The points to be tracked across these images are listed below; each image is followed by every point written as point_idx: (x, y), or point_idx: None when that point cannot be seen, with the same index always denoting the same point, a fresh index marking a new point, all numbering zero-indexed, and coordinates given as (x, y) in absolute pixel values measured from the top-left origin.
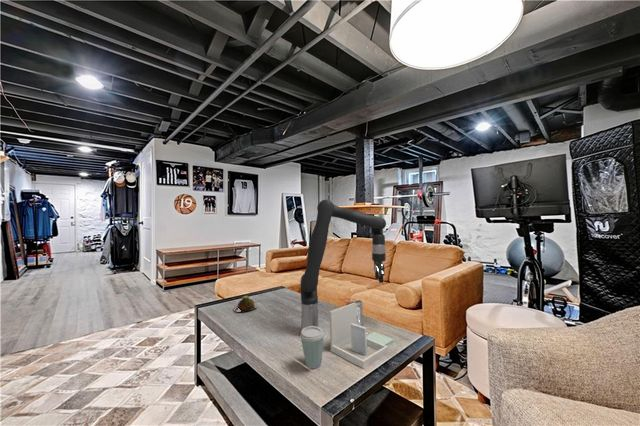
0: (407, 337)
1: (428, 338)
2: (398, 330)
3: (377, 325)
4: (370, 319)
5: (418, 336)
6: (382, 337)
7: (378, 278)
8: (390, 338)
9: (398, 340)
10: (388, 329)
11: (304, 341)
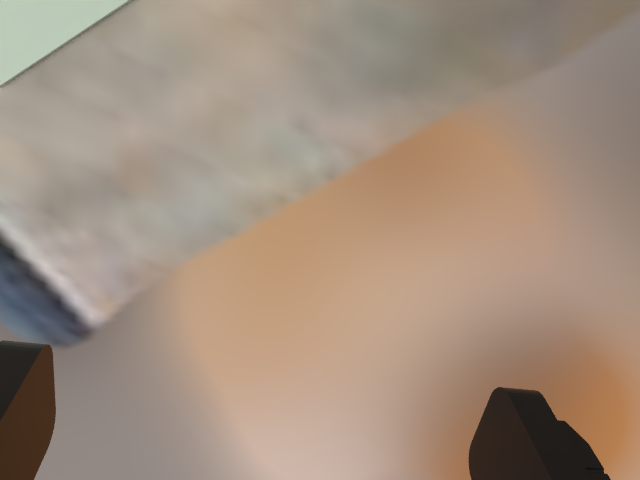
0: (78, 226)
1: None
2: (211, 218)
3: (351, 91)
4: (500, 82)
5: (87, 303)
6: (26, 3)
7: (476, 460)
8: (2, 69)
9: (30, 137)
10: (246, 150)
11: None
